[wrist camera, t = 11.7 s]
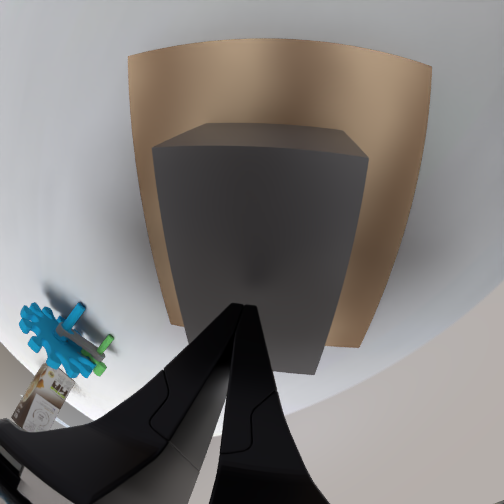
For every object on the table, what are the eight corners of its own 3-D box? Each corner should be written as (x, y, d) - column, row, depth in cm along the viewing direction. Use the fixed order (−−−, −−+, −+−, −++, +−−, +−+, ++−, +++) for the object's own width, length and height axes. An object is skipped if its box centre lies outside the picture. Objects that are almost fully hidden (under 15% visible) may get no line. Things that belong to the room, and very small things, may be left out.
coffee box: (51, 361, 38) (15, 424, 24) (76, 382, 40) (43, 444, 27) (42, 363, 42) (10, 417, 28) (63, 382, 44) (34, 436, 31)
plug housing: (342, 130, 10) (369, 157, 6) (315, 303, 16) (314, 375, 12) (206, 123, 11) (151, 147, 7) (218, 292, 17) (192, 357, 13)
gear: (27, 299, 23) (5, 339, 15) (52, 262, 24) (33, 290, 16) (95, 353, 28) (101, 404, 20) (121, 321, 30) (133, 365, 21)
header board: (423, 67, 8) (459, 65, 6) (357, 337, 19) (361, 376, 16) (138, 57, 10) (95, 55, 8) (175, 315, 20) (158, 349, 18)
